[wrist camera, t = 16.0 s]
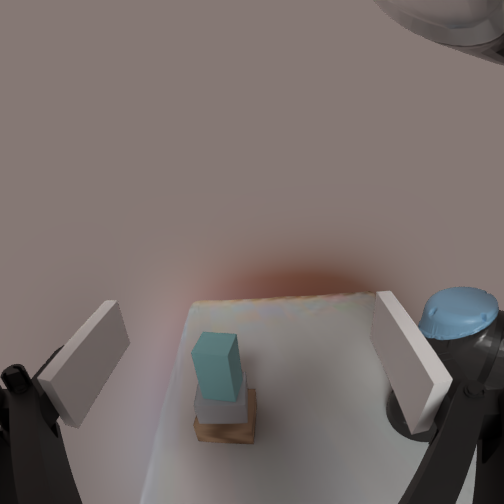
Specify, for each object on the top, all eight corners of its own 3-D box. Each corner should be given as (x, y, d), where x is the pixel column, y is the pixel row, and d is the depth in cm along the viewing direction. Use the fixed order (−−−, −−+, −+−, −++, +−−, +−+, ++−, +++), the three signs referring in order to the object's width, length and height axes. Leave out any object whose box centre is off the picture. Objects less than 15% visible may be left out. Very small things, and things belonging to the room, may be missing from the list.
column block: (242, 379, 44) (236, 333, 41) (235, 402, 40) (227, 355, 37) (212, 376, 45) (203, 331, 42) (203, 398, 41) (191, 352, 38)
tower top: (247, 390, 48) (245, 371, 46) (247, 423, 40) (245, 405, 39) (204, 391, 48) (200, 372, 46) (199, 423, 41) (193, 405, 39)
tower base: (256, 405, 49) (255, 389, 48) (253, 444, 41) (251, 428, 39) (208, 404, 50) (204, 387, 49) (198, 441, 42) (193, 425, 40)
